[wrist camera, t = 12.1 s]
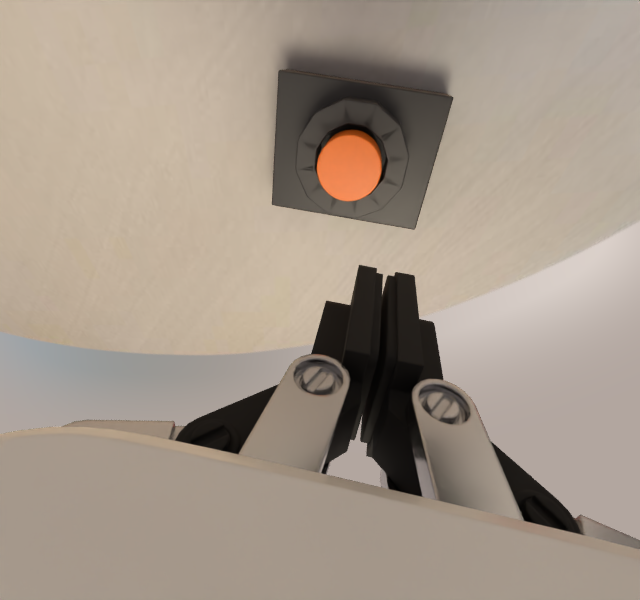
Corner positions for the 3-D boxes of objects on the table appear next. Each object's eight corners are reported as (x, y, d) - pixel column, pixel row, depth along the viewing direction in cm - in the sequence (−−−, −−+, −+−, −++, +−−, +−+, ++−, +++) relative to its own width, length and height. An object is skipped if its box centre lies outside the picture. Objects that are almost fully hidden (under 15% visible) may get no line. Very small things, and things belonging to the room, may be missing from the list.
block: (448, 93, 22) (459, 100, 19) (412, 218, 26) (417, 241, 23) (286, 69, 23) (270, 70, 19) (279, 195, 27) (264, 214, 24)
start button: (388, 134, 20) (388, 140, 19) (374, 197, 22) (374, 206, 21) (325, 124, 21) (320, 129, 19) (317, 187, 23) (313, 196, 21)
